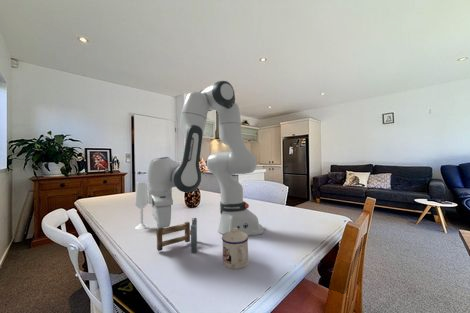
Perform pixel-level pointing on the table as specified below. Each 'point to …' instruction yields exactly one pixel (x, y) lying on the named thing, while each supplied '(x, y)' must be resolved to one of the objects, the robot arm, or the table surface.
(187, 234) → the gate
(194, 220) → the posts
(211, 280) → the table surface
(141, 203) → the champagne flute
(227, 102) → the robot arm
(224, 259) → the teacup with lid
